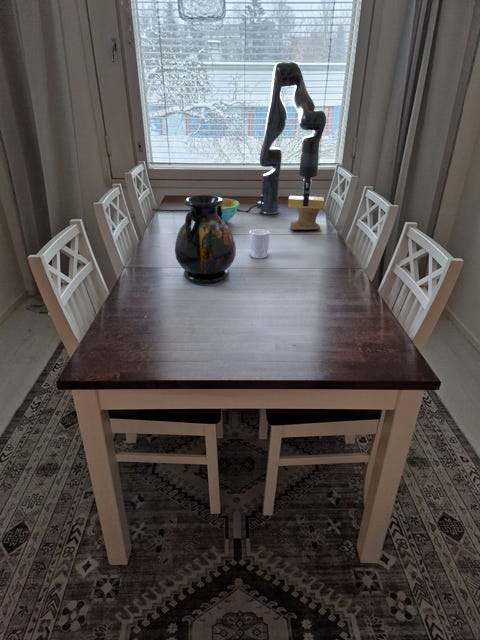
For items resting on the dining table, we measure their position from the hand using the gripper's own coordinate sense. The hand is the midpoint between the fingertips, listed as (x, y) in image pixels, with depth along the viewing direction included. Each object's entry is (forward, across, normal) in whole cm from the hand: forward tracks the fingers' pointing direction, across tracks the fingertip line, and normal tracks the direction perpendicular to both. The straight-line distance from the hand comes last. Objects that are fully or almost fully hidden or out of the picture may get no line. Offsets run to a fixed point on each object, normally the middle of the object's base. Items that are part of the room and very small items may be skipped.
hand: (305, 204), depth 180 cm
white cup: (+16, +25, -17) cm, 34 cm away
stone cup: (+16, -16, 0) cm, 23 cm away
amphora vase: (+16, +50, -33) cm, 62 cm away
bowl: (+16, -18, -44) cm, 50 cm away
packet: (+1, 0, 0) cm, 1 cm away
